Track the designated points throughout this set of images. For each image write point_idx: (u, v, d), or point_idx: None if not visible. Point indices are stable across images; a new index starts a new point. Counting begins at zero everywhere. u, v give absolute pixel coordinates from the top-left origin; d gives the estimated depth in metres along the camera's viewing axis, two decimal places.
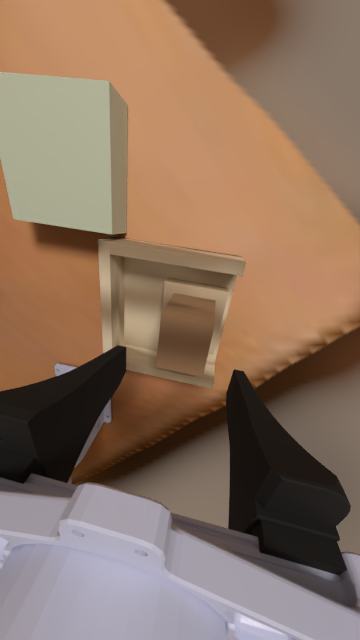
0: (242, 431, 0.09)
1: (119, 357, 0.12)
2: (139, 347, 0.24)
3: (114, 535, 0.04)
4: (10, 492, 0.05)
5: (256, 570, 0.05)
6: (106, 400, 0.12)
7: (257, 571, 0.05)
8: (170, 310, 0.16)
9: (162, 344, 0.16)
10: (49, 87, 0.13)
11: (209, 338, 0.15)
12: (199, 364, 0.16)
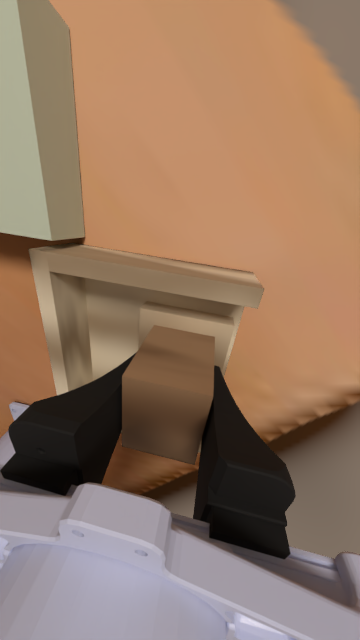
0: (209, 423, 0.09)
1: None
2: None
3: (114, 535, 0.04)
4: (10, 492, 0.05)
5: (256, 570, 0.05)
6: None
7: (257, 571, 0.05)
8: (140, 366, 0.10)
9: (129, 419, 0.10)
10: None
11: (204, 416, 0.09)
12: (188, 448, 0.10)
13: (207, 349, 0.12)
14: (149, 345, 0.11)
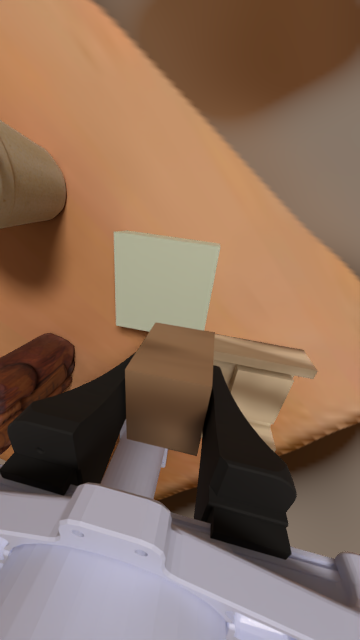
0: (209, 423, 0.09)
1: None
2: None
3: (114, 535, 0.04)
4: (10, 492, 0.05)
5: (256, 571, 0.05)
6: None
7: (257, 571, 0.05)
8: (142, 360, 0.10)
9: (132, 411, 0.10)
10: (168, 246, 0.17)
11: (204, 406, 0.09)
12: (190, 439, 0.11)
13: (207, 344, 0.12)
14: (151, 341, 0.12)
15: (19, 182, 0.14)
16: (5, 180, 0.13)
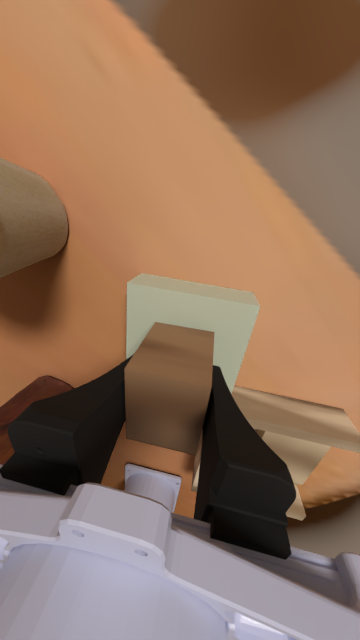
0: (209, 423, 0.09)
1: None
2: None
3: (114, 535, 0.04)
4: (10, 492, 0.05)
5: (256, 571, 0.05)
6: None
7: (257, 571, 0.05)
8: (142, 359, 0.10)
9: (132, 411, 0.10)
10: (195, 302, 0.14)
11: (203, 406, 0.09)
12: (190, 439, 0.11)
13: (206, 343, 0.12)
14: (150, 340, 0.12)
15: (8, 234, 0.11)
16: None
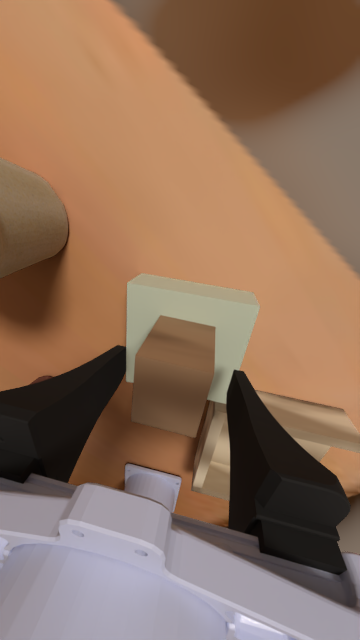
0: (242, 431, 0.09)
1: (119, 357, 0.12)
2: (219, 463, 0.25)
3: (114, 535, 0.04)
4: (10, 492, 0.05)
5: (256, 570, 0.05)
6: (106, 400, 0.12)
7: (257, 571, 0.05)
8: (150, 348, 0.11)
9: (139, 395, 0.11)
10: (195, 302, 0.14)
11: (205, 391, 0.10)
12: (190, 422, 0.12)
13: (208, 336, 0.13)
14: (157, 331, 0.13)
15: (9, 234, 0.11)
16: None
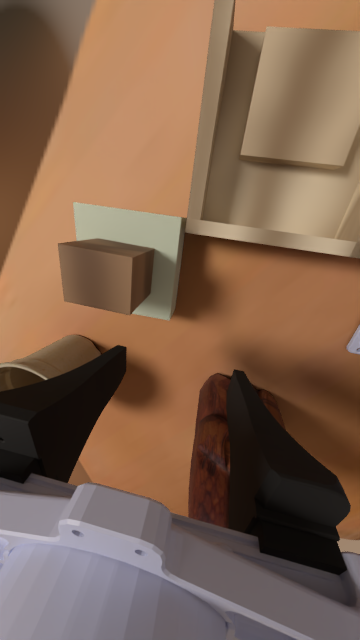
0: (242, 431, 0.09)
1: (119, 357, 0.12)
2: (345, 212, 0.16)
3: (114, 535, 0.04)
4: (10, 492, 0.05)
5: (256, 570, 0.05)
6: (106, 400, 0.12)
7: (257, 571, 0.05)
8: None
9: (98, 303, 0.14)
10: None
11: (76, 249, 0.13)
12: (114, 261, 0.13)
13: None
14: None
15: (45, 358, 0.20)
16: (34, 364, 0.19)
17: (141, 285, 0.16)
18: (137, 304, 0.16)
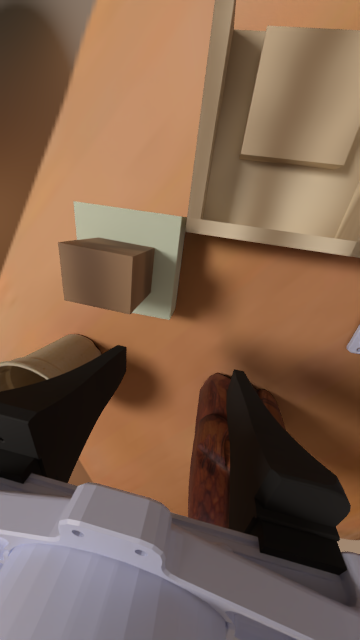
0: (242, 431, 0.09)
1: (119, 357, 0.12)
2: (345, 211, 0.16)
3: (114, 535, 0.04)
4: (10, 492, 0.05)
5: (256, 570, 0.05)
6: (106, 400, 0.12)
7: (257, 571, 0.05)
8: None
9: (98, 302, 0.14)
10: None
11: (76, 248, 0.13)
12: (114, 260, 0.13)
13: None
14: None
15: (45, 357, 0.20)
16: (34, 363, 0.19)
17: (141, 284, 0.16)
18: (137, 303, 0.16)
